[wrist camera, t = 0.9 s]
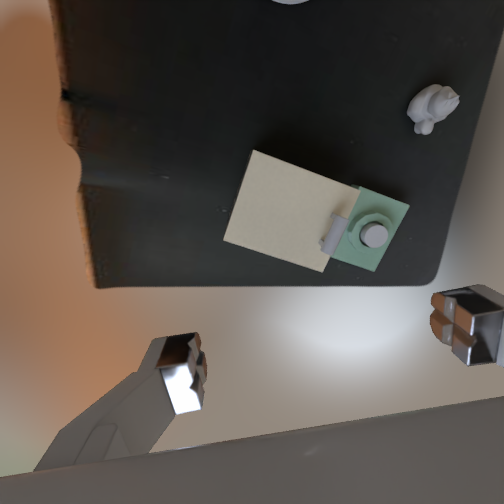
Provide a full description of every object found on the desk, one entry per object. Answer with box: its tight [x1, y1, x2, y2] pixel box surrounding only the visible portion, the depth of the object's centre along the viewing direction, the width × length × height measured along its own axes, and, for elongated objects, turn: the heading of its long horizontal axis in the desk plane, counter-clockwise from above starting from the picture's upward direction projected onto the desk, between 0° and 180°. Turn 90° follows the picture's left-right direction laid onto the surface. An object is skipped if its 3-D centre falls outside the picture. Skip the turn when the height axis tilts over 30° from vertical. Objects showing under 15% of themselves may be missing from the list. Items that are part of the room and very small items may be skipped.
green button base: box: [330, 184, 410, 271], centre depth 45 cm, size 12×9×5 cm
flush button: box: [360, 223, 388, 248], centre depth 43 cm, size 4×4×2 cm
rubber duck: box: [407, 84, 459, 135], centre depth 38 cm, size 5×7×8 cm
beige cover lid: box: [223, 150, 361, 272], centre depth 36 cm, size 15×13×5 cm
